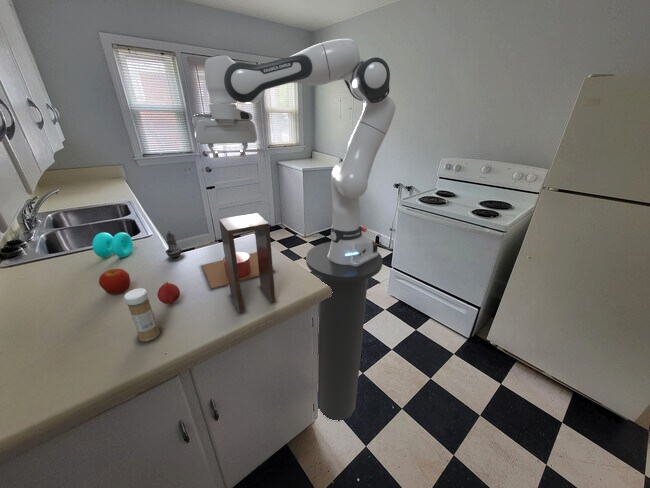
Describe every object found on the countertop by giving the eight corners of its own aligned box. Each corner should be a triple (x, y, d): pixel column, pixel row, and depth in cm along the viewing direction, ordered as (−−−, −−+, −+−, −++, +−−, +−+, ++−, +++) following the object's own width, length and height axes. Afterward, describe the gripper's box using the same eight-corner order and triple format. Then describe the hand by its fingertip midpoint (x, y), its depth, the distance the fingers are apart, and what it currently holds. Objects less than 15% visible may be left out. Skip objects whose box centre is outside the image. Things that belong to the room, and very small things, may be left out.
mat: (257, 253, 114) (257, 252, 114) (274, 272, 100) (274, 271, 100) (202, 266, 103) (202, 265, 103) (211, 289, 89) (211, 288, 89)
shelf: (263, 286, 91) (257, 213, 81) (275, 301, 84) (269, 223, 73) (231, 295, 86) (218, 219, 75) (239, 313, 78) (227, 230, 68)
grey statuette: (185, 254, 112) (178, 227, 107) (182, 260, 107) (175, 232, 102) (169, 255, 110) (162, 228, 105) (165, 262, 105) (158, 234, 100)
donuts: (112, 250, 114) (104, 228, 110) (137, 250, 114) (130, 228, 110) (95, 262, 105) (86, 238, 101) (122, 261, 105) (114, 238, 101)
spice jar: (160, 327, 73) (146, 285, 67) (159, 338, 69) (145, 295, 63) (140, 333, 71) (124, 290, 65) (138, 345, 67) (122, 300, 61)
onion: (156, 308, 80) (149, 286, 76) (169, 297, 85) (163, 275, 82) (174, 310, 79) (168, 288, 76) (186, 299, 84) (180, 277, 81)
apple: (110, 301, 83) (102, 279, 79) (99, 293, 86) (90, 272, 83) (137, 289, 89) (130, 268, 85) (126, 282, 92) (119, 262, 89)
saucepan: (237, 251, 114) (236, 237, 112) (254, 274, 98) (252, 259, 95) (215, 255, 110) (213, 242, 107) (228, 281, 93) (226, 265, 91)
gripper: (191, 113, 83) (200, 159, 89) (256, 114, 93) (260, 156, 98) (189, 113, 88) (197, 157, 93) (250, 114, 97) (254, 154, 103)
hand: (229, 156), depth 96 cm, fingers open, 8 cm apart
